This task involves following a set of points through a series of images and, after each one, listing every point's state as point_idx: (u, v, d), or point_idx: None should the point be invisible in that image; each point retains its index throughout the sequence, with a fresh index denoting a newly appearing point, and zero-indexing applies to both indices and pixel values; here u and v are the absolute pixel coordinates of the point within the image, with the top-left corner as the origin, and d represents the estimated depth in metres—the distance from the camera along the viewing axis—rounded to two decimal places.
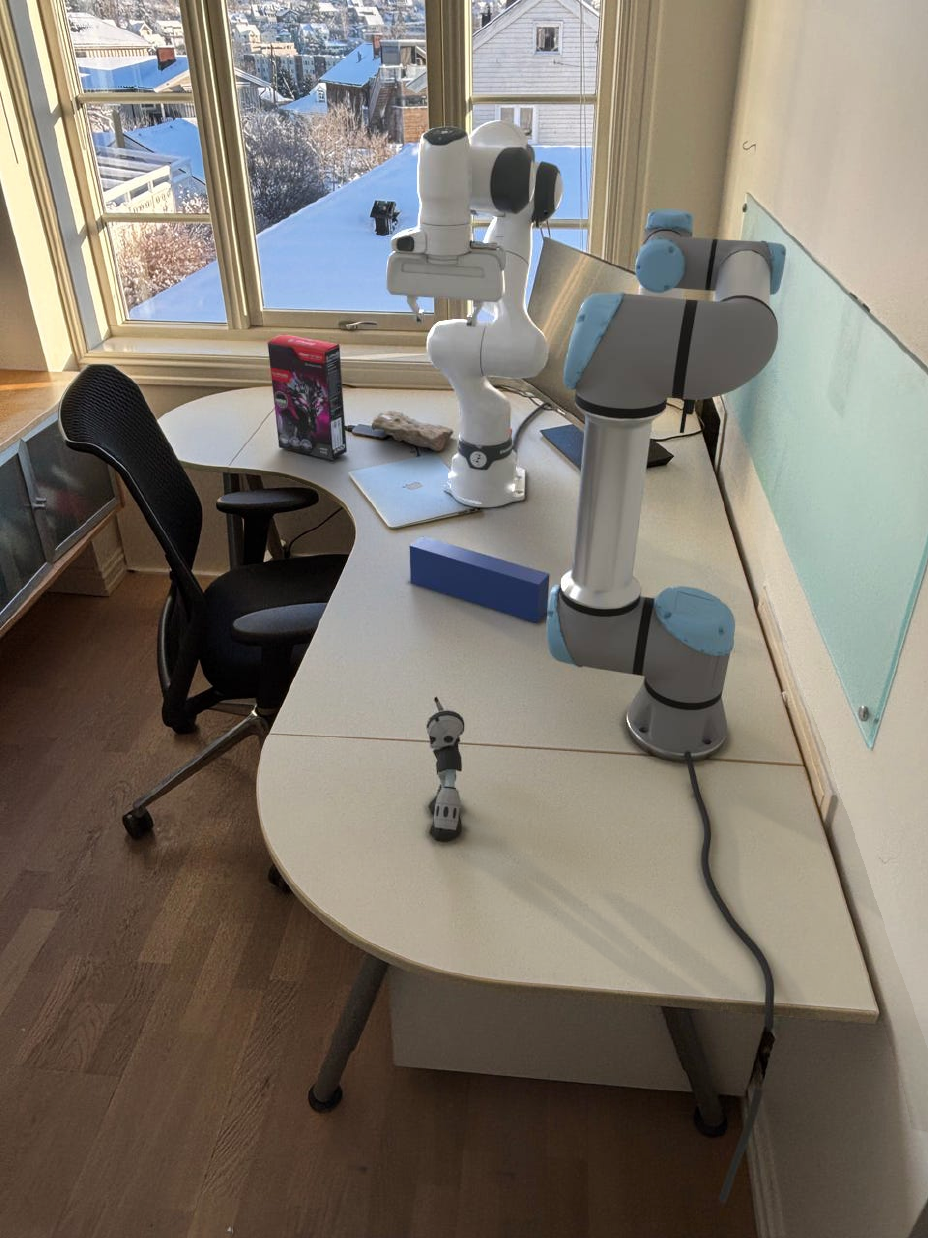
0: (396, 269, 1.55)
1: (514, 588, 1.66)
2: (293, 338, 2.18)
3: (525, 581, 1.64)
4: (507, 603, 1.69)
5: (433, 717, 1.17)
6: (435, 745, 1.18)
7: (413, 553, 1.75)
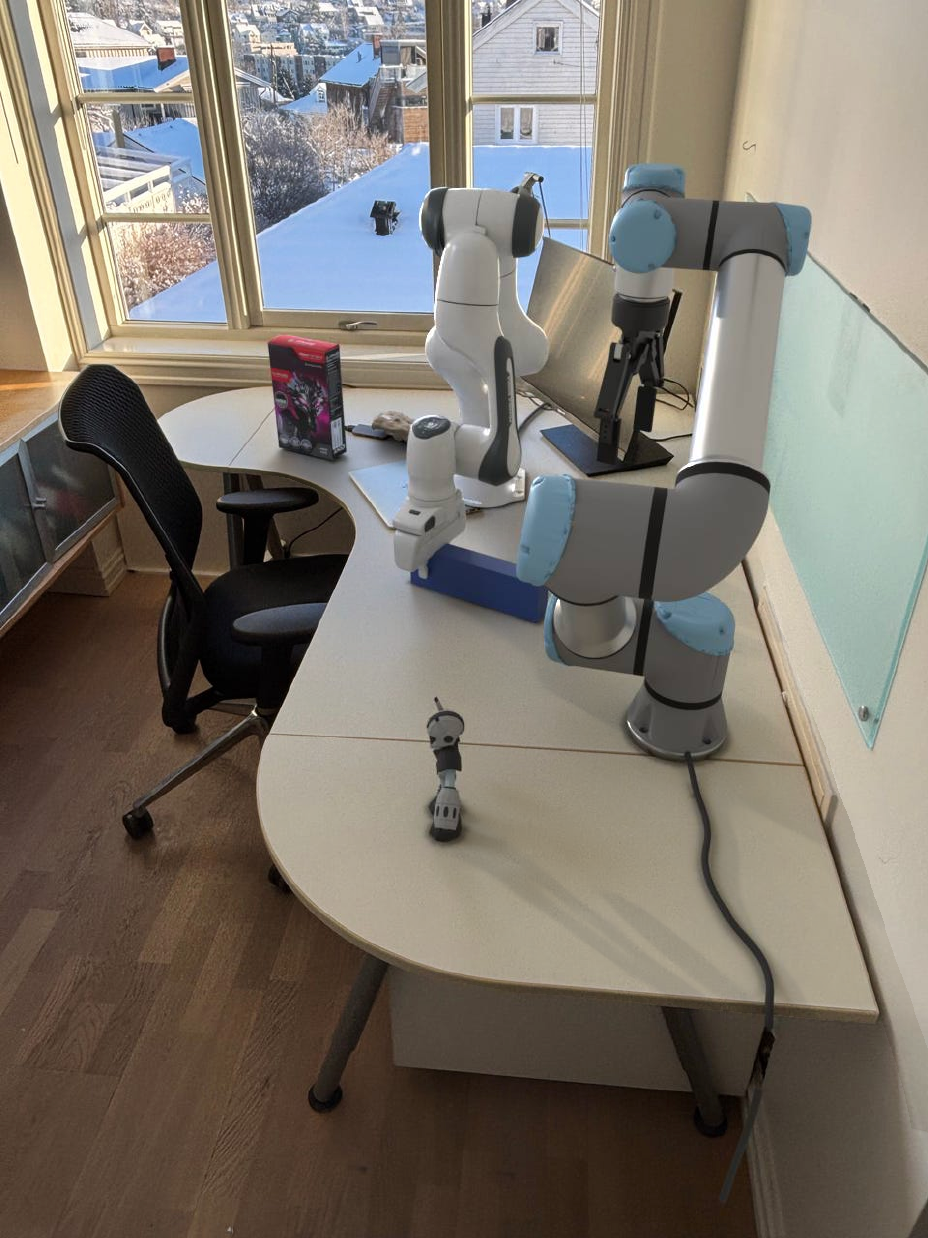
0: (417, 549, 1.66)
1: (514, 588, 1.66)
2: (293, 338, 2.18)
3: None
4: (507, 603, 1.69)
5: (433, 717, 1.17)
6: (435, 745, 1.18)
7: None
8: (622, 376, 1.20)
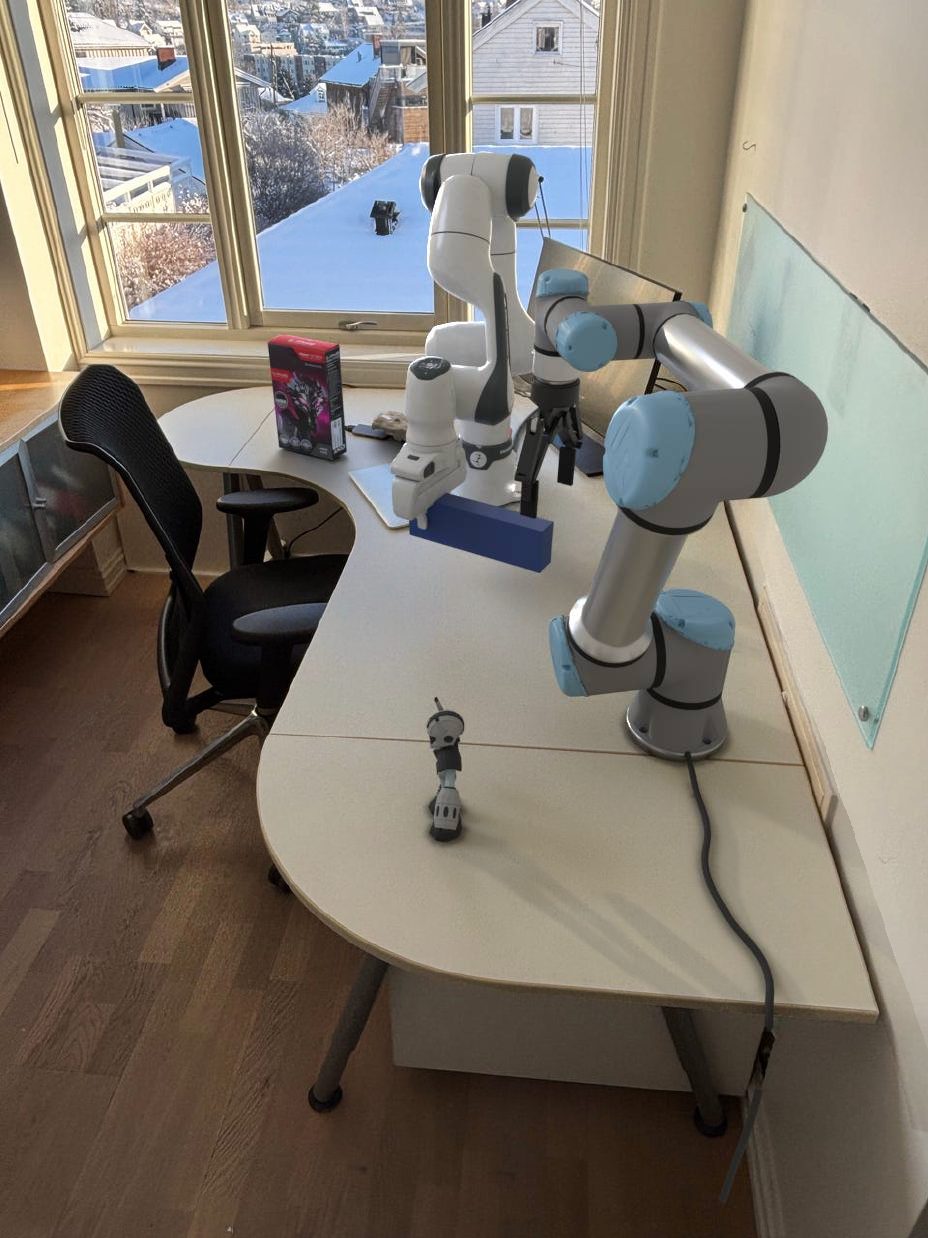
0: (416, 496, 1.60)
1: (516, 536, 1.60)
2: (293, 338, 2.18)
3: (528, 528, 1.58)
4: (510, 553, 1.63)
5: (433, 717, 1.17)
6: (435, 745, 1.18)
7: None
8: (537, 446, 1.41)
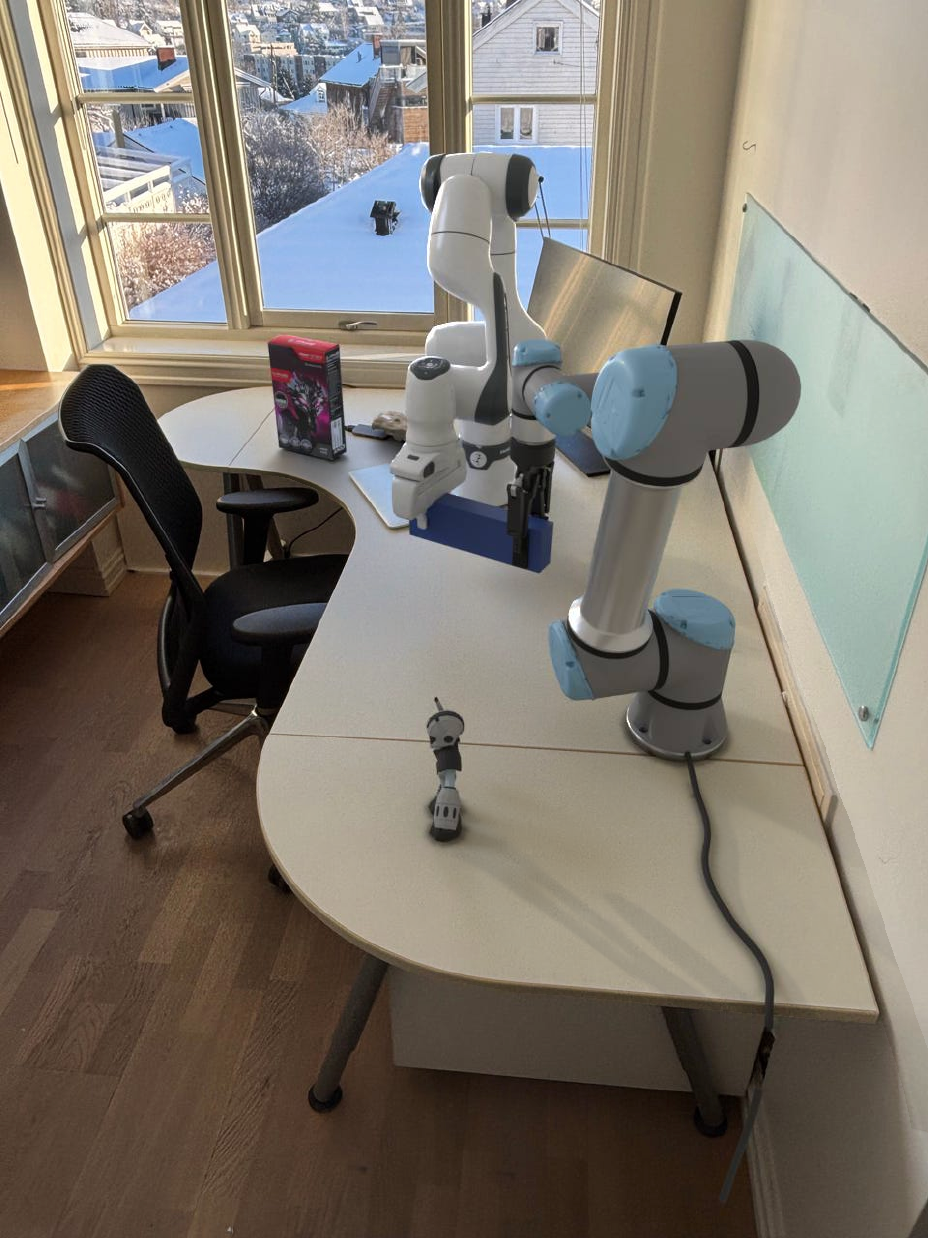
0: (416, 496, 1.60)
1: None
2: (293, 338, 2.18)
3: (528, 529, 1.58)
4: (509, 553, 1.63)
5: (433, 717, 1.17)
6: (435, 745, 1.18)
7: None
8: (521, 508, 1.52)
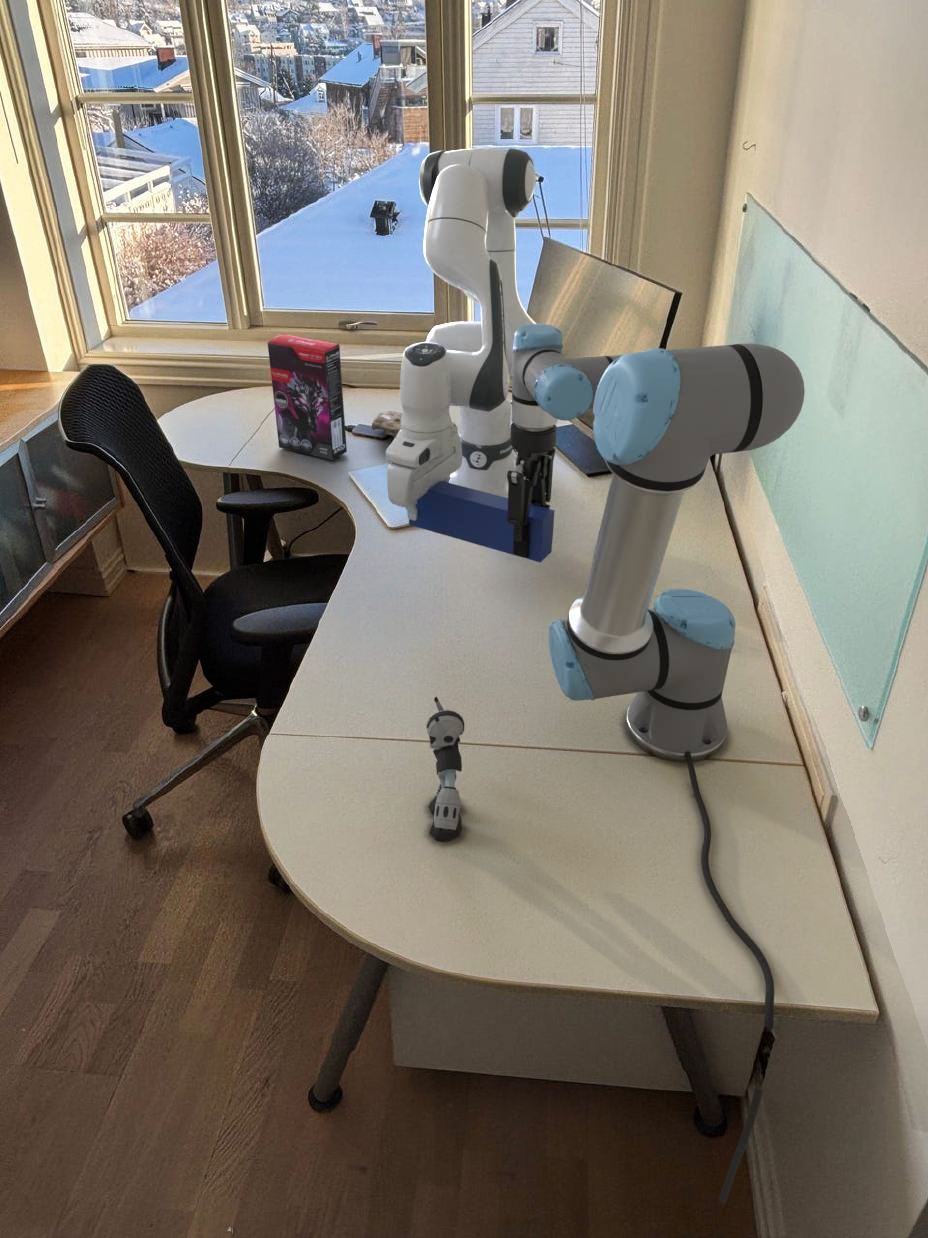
0: (411, 483, 1.59)
1: None
2: (293, 338, 2.18)
3: None
4: (510, 542, 1.61)
5: (433, 717, 1.17)
6: (435, 745, 1.18)
7: None
8: (521, 495, 1.51)
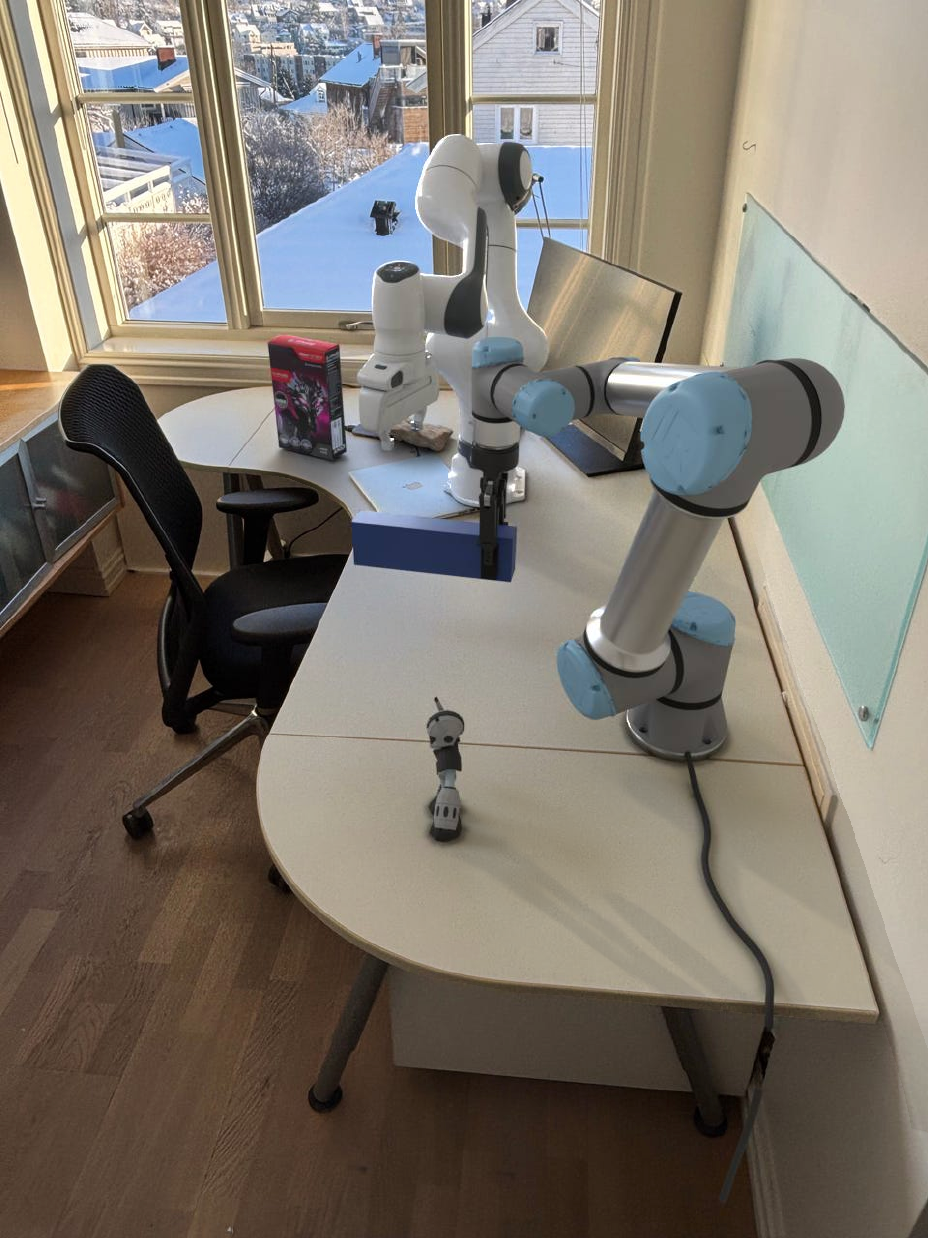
0: (384, 407, 1.54)
1: None
2: (293, 338, 2.18)
3: None
4: (476, 566, 1.53)
5: (433, 717, 1.17)
6: (435, 745, 1.18)
7: (356, 530, 1.54)
8: (495, 517, 1.43)
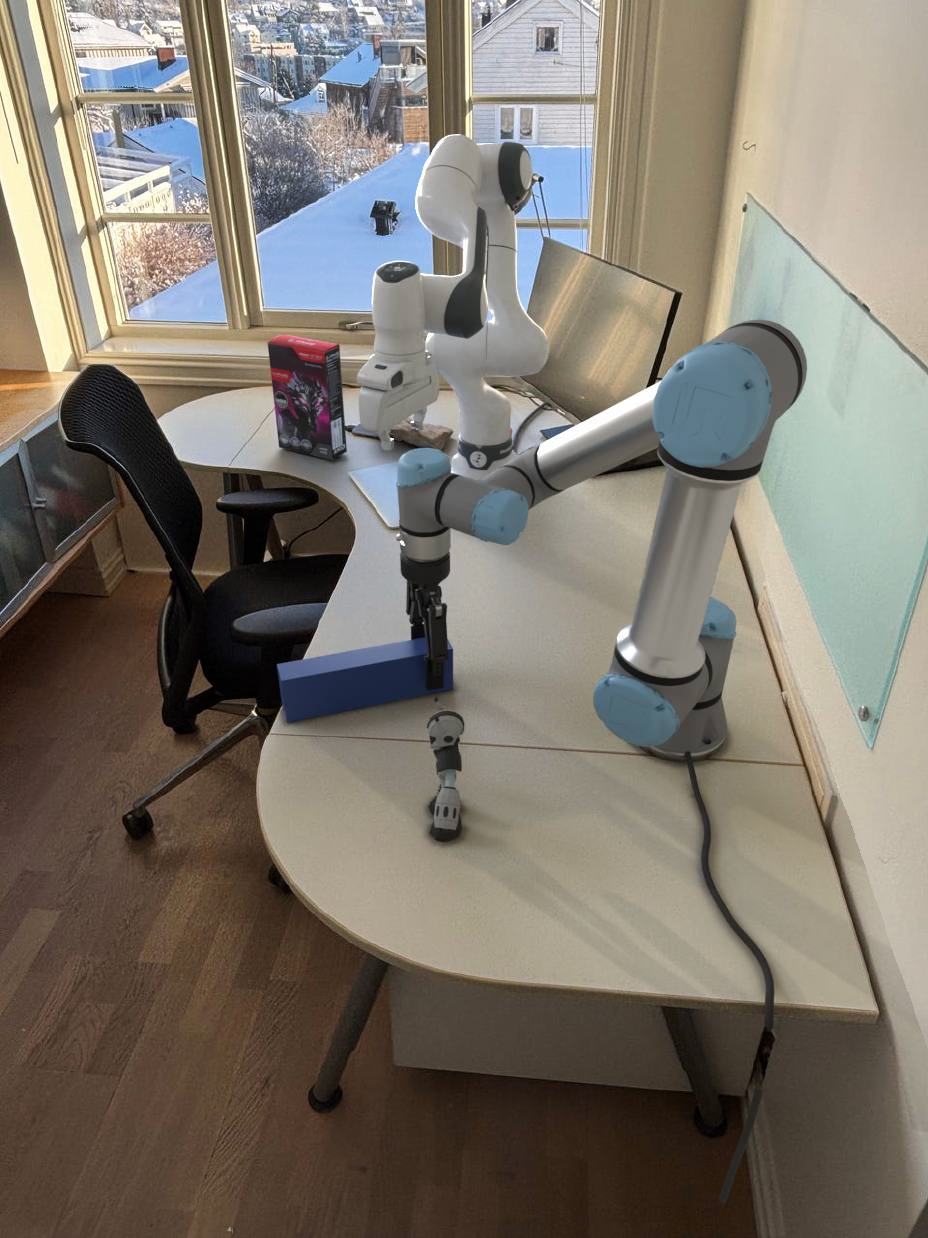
0: (384, 407, 1.54)
1: (424, 666, 1.47)
2: (293, 338, 2.18)
3: None
4: (418, 685, 1.48)
5: (433, 717, 1.17)
6: (435, 745, 1.18)
7: (288, 687, 1.40)
8: (446, 626, 1.38)
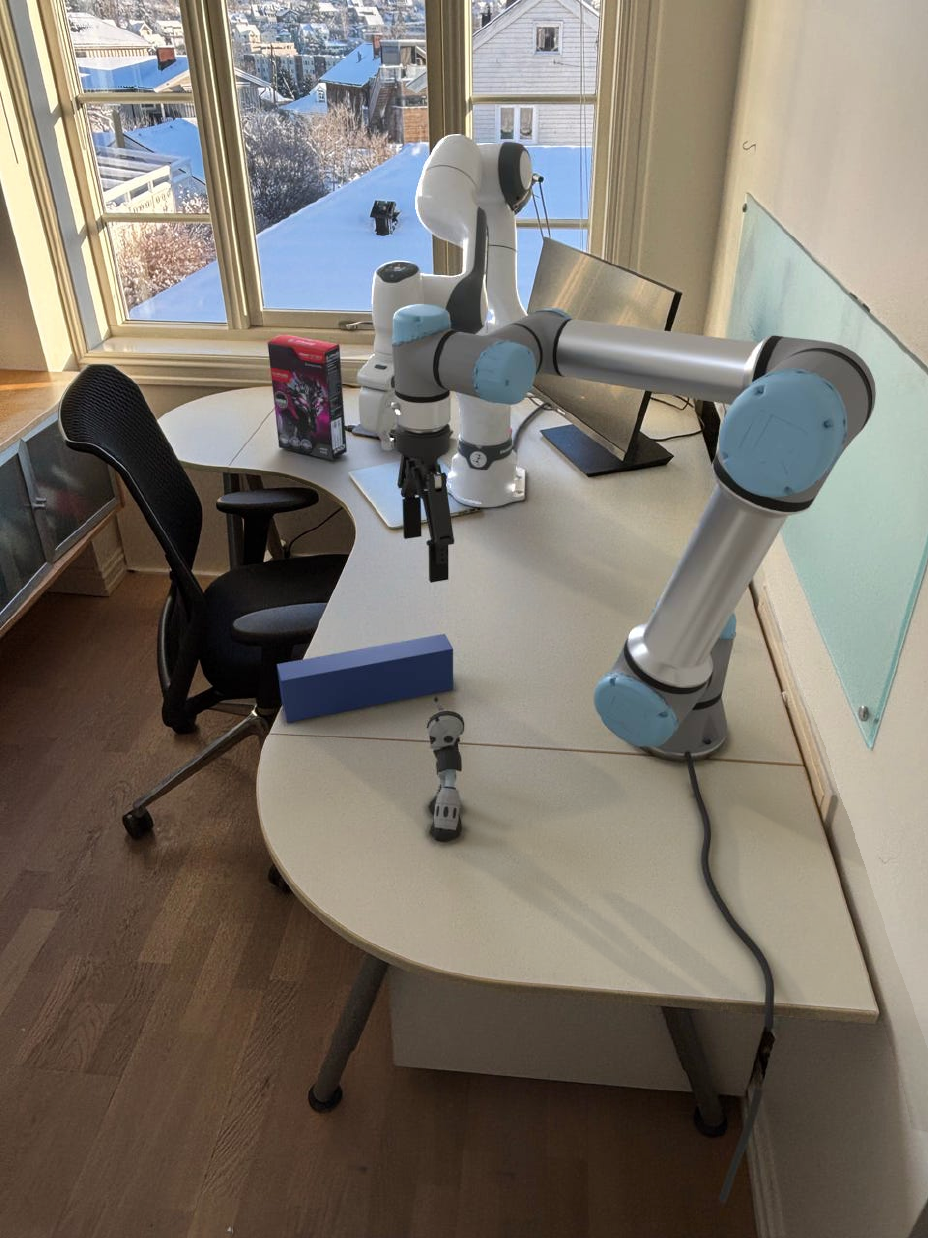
0: (384, 407, 1.54)
1: (424, 666, 1.47)
2: (293, 338, 2.18)
3: (437, 652, 1.46)
4: (418, 685, 1.48)
5: (433, 717, 1.17)
6: (435, 745, 1.18)
7: (288, 687, 1.40)
8: (448, 501, 1.26)
